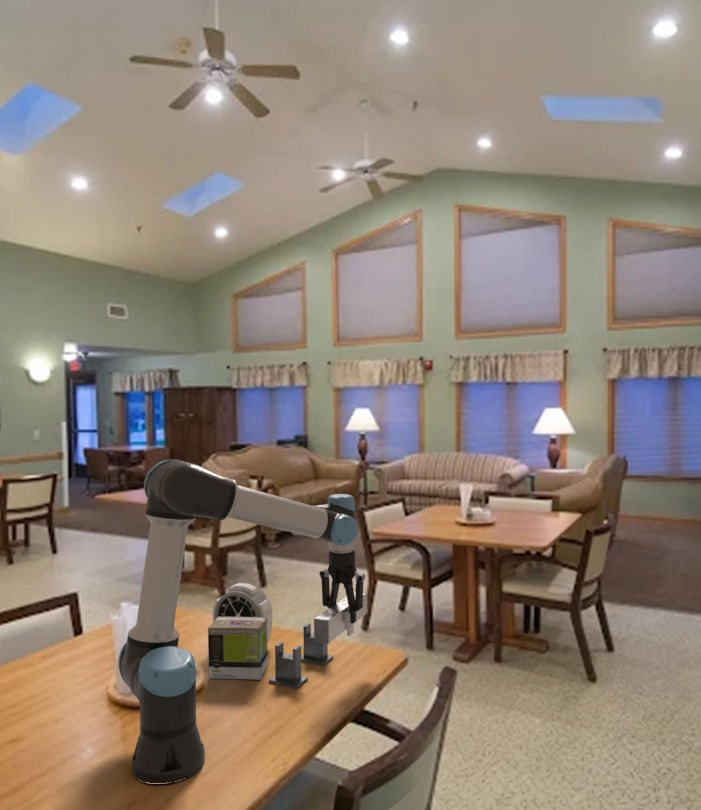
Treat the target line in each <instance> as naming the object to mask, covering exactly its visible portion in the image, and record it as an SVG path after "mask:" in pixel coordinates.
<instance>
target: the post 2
mask: <svg viewBox="0 0 701 810" xmlns="http://www.w3.org/2000/svg"><path fill="white" fill-rule="evenodd" d="M328 645H329V644H325V643H319V642H314V633H312V623H306V624H305V625H304V626H303V654H302V653H301V663H302V662H303V663H307V664H308V663H309V664H314V665H319V666H323V667H324V666H326V665H327V664H328V663H330V662H331V661H332V660H333V659H334V654H333V655H332V654H329V653H328V651H329V648H328Z"/></svg>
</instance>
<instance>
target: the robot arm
mask: <svg viewBox="0 0 701 810" xmlns="http://www.w3.org/2000/svg"><path fill="white" fill-rule="evenodd" d="M143 489H144V493H145V496H146V498H147V500H146V508H145V514H144V515H145V517H146V518H147V519H148V521H149V522H150V527H149V532H148V540H147V546H146V553H145V561H144V567H143V568H144V569H143V575H142V583H141V588H140V596H139V603H138V610H137V616H136V617H137V618H136V623H135V625H134V626H133V627H131V628H130V629H129V630H128V633H127V639H126V642H125V643H124V644H123V646H122V647H121V649H120V652H119V654H118V661H117V665H118V669H119V674H120V676H121V678H122V680H123V682H124V683H125V684H126V685H127V687H128V688H129V689H130V691H131V692H132V693H133V695H134V696H135V698H136V699H137V700H138V703H139V735H138V738H137V741H136V745H135V747H134V748H135V749H134V752H133V755H132V758H131V774H132V773H133V774H132V776H133V775H134V776H135V777H136V778H137V779H139V780H141V781H143V782H149V783H167V782H168V783H169V782H175V781H178V780H181V779H184V778H187V777H189V776H190V777H192V776H194V775H195V774H196V773H198V772H199V771H200V770H201V769H202V767H203V765H204V764H205V759H206V757H205V756H206V755H205V754H206V753H205V752H206V751H205V749H206V748H205V745H204V743H203V741H202V740H201V736H200V732H199V728H198V725H197V667H196V661H195V657H194V655H193V654H192V653H191V652H190V651H189V650H187V649H185V648H183V647H179V639H180V633H179V631H178V630H177V629H176V627H175V620H176V612H177V606H178V598H179V594H180V593H179V591H180V584H181V579H182V571H183V563H184V557H185V549H186V541H187V535H188V527H189V525H191V523H193V522H194V521H196V518H197V517H201V518H209V519H214V520H217V521H225V520H226V519H227V518H228V519H229V518H231V519H234V520H237V521H238V520H239V521H243V522H245V523H251V524H255V525H258V526H264V527H268V528H271V529H277V530H279V531H284V532H290V533H292V535H293V536H296V537H298V536H299V537H300V536H301V537H310V538H314V539H317V540H322V541H326V542H327V543H328V550H329V551H328V567H327V568H326V569H325V568H324V569H322V570H320V571H319V576H320V579H321V595H322V596H321V598H322V599H321V600H322V606H323V607H326V608H328V609H329V608H331V607H332V606H334V605H335V604H337V603H338V601H337V600H338V595H339V590H340V584H342V585H343V588H344V589H345V595H346V597H347V601H348V606H349V611H348V612H347V629H346V636H348V637H350V636H351V635H352V634H354V625H355V623H356V622H357V621H356V611H359V610H360V609H361V608H362V607H363V592H364V581H365V578H366V574H365V573H360V572H358V571H357V568H356V551H355V549H356V538H357V535H358V530H359V527H358V522H357V521H356V504H355V498H354V496H353V495H351V494H347V493H336V494H335V493H334V494H331V495H329V496H328V497H327V503H323V504H316V505H312V504H307V503H303V502H301V501H296V500H292V499H290V498H285V497H281V496H277V495H274V494H271V493H267V492H263V491H260V490H257V489H252V488H248V487H245V486H241V485H238V484H237V482H236V480H235V479H233V478H229V477H226V476H224V475H223V476H222V475H220V474H218V473H215V472H213V471H211V470H209V469H206V468H204V467H203V466H200V465H199V464H195V463H190V462H186V461H184V460H180V459H166V460H162V461H160V462H158V463H156V464H154V465H153V466H152V467H151V468H150V469H149V471H148V472H147V473H146V476H145V478H144V482H143ZM330 577H331V578H332V580H331V584H330ZM354 578H355V580H354V581H355V589H354V582H353V579H354ZM330 585H331V589H330ZM354 591H356V595H354ZM178 647H179V648H178ZM199 769H200V770H199ZM198 770H199V771H198ZM197 771H198V772H197ZM195 772H196V773H195ZM194 773H195V774H194ZM193 774H194V775H193ZM191 775H192V776H191ZM134 776H133V777H134ZM135 777H134V778H135ZM190 777H189V778H190ZM136 778H135V779H136ZM137 779H136V780H137ZM187 779H188V778H187ZM184 780H185V779H184Z"/></svg>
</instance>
